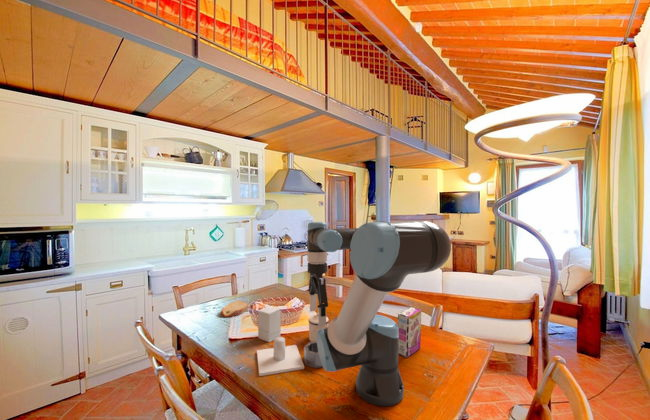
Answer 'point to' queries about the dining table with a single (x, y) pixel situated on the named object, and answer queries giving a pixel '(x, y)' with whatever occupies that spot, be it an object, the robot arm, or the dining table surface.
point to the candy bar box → (409, 331)
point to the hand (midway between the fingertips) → (317, 317)
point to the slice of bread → (234, 309)
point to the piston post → (279, 358)
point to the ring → (312, 355)
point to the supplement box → (269, 323)
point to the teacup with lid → (315, 327)
